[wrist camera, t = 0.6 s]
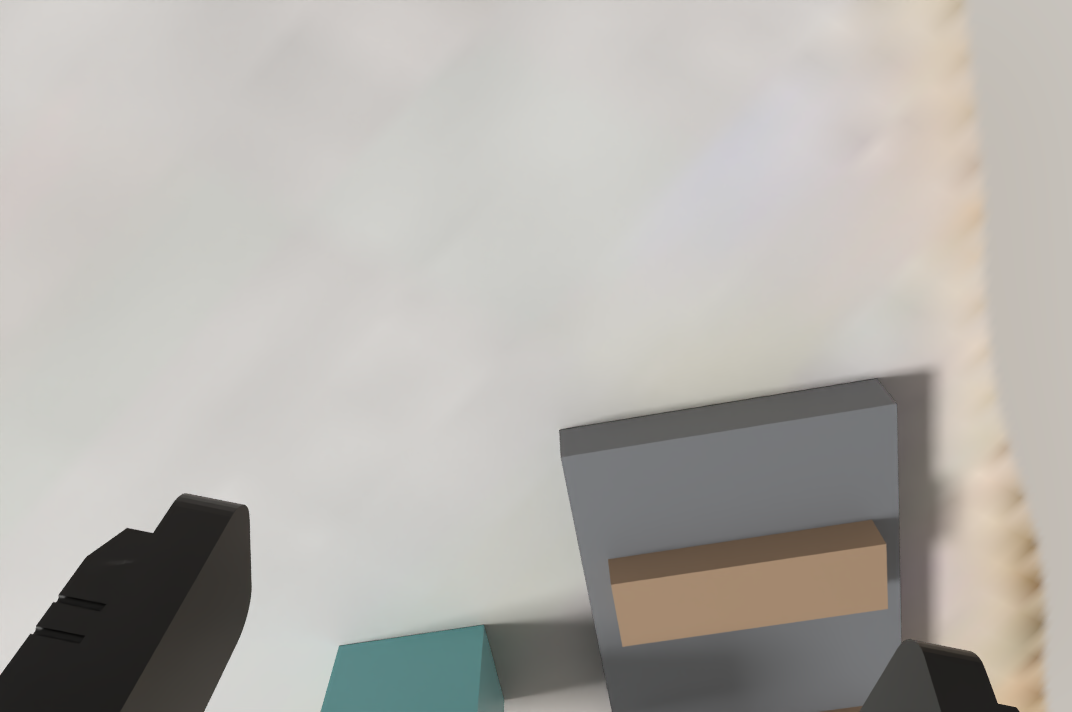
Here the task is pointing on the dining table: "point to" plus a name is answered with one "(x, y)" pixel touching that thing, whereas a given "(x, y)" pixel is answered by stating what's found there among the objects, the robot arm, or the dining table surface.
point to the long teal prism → (416, 674)
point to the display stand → (742, 551)
